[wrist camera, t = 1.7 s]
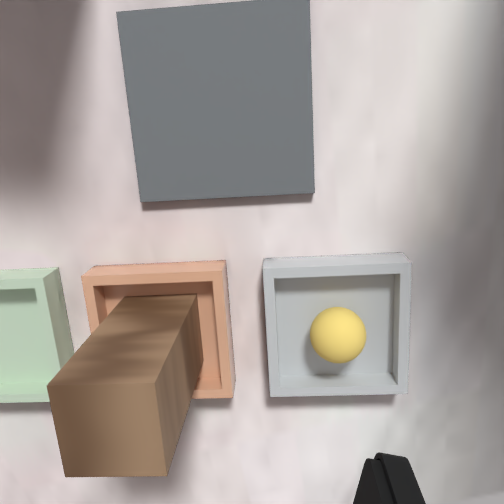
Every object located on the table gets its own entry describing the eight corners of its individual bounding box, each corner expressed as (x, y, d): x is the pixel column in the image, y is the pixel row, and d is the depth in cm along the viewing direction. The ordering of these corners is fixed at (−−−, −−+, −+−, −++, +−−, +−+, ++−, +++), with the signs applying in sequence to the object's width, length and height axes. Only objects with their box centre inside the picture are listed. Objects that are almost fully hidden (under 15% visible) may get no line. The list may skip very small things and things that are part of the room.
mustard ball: (361, 297, 28) (371, 319, 25) (361, 346, 29) (371, 373, 26) (307, 299, 28) (310, 321, 25) (309, 347, 29) (312, 374, 26)
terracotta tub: (225, 260, 28) (221, 270, 26) (235, 380, 31) (232, 397, 29) (94, 265, 29) (81, 276, 27) (113, 383, 31) (102, 400, 29)
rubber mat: (308, -2, 24) (309, -5, 24) (313, 191, 27) (314, 192, 26) (119, 14, 25) (116, 11, 24) (143, 200, 28) (140, 202, 27)
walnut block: (196, 293, 28) (154, 382, 19) (203, 360, 30) (166, 476, 20) (124, 296, 29) (46, 385, 19) (134, 362, 30) (65, 477, 20)
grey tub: (402, 252, 28) (411, 262, 26) (399, 376, 30) (407, 393, 28) (263, 258, 28) (262, 268, 26) (270, 379, 30) (270, 396, 28)
